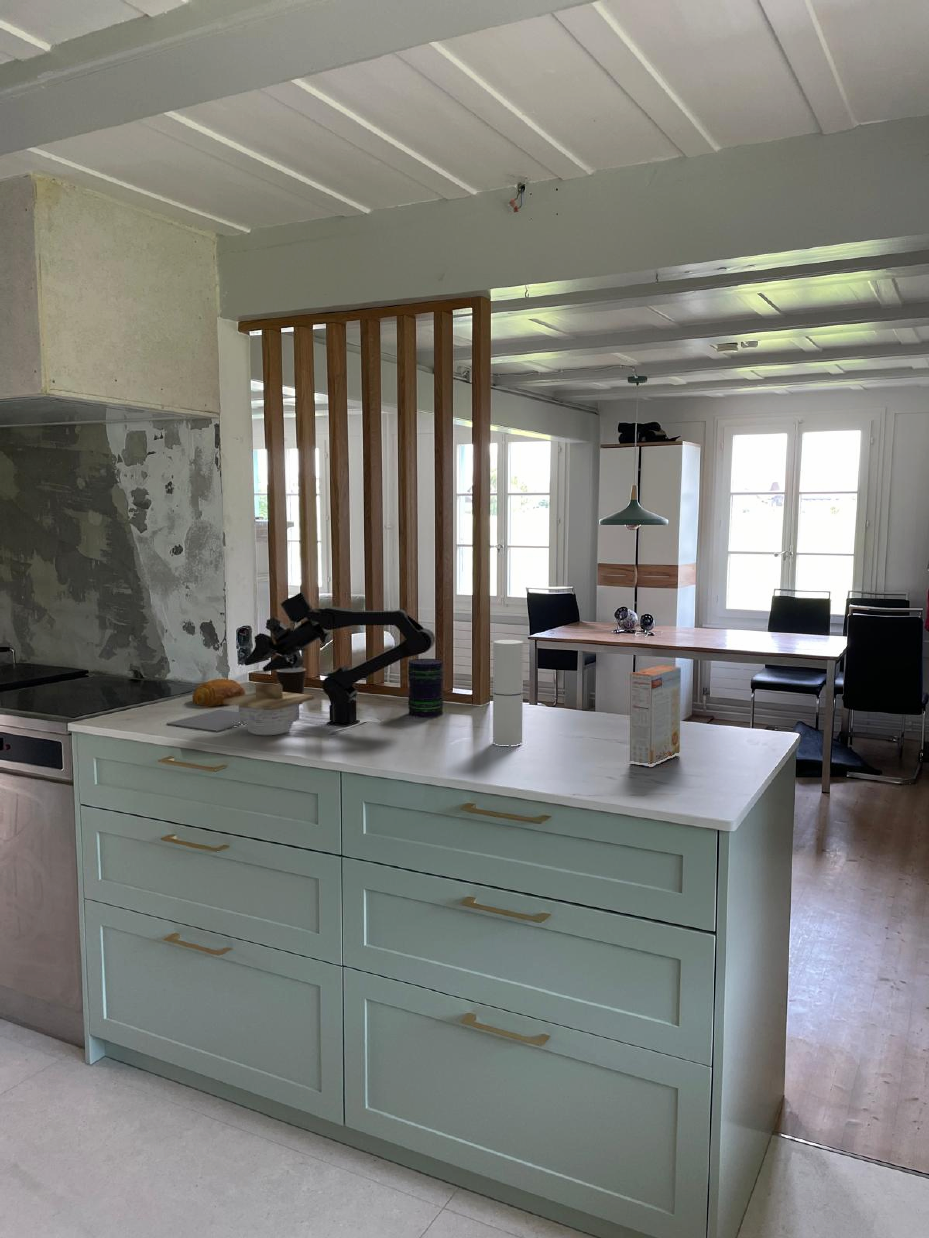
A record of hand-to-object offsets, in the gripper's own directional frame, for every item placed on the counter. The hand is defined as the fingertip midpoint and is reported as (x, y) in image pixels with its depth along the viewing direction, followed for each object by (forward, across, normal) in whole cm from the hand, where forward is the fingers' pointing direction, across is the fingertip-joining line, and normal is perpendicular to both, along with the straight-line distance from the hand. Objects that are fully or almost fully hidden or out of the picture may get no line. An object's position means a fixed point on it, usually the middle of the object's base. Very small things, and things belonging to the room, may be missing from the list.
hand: (254, 667), depth 249 cm
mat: (+16, -1, +8) cm, 18 cm away
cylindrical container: (-51, -4, +52) cm, 73 cm away
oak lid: (-3, +7, +14) cm, 16 cm away
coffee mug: (+6, -29, +3) cm, 30 cm away
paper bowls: (+1, +5, +20) cm, 21 cm away
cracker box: (-80, -1, +74) cm, 108 cm away
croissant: (+25, -22, -7) cm, 34 cm away
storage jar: (-29, -28, +28) cm, 49 cm away
